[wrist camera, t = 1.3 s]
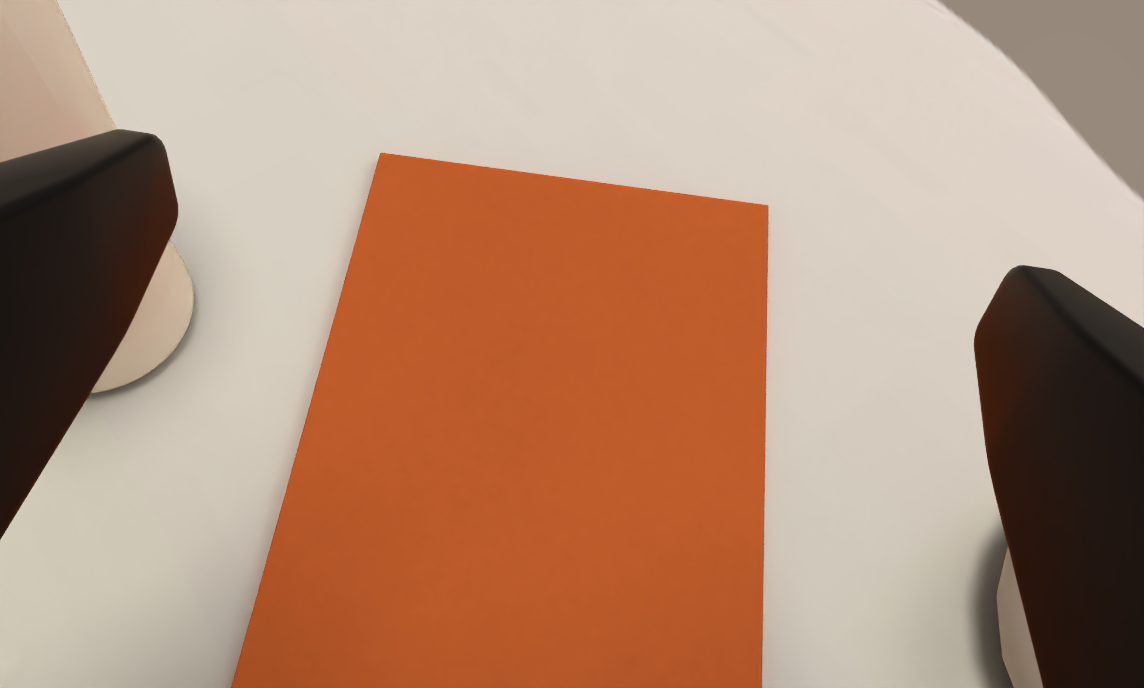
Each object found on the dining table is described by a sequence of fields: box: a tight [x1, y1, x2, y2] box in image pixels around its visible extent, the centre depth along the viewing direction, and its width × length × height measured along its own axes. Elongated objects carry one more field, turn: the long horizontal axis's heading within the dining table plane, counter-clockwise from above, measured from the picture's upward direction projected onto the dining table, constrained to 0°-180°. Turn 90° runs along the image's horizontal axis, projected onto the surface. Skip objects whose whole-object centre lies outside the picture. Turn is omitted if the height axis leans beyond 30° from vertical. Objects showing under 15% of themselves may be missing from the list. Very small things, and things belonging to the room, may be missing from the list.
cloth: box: [231, 153, 768, 688], centre depth 23 cm, size 22×13×1 cm, turn 173°
